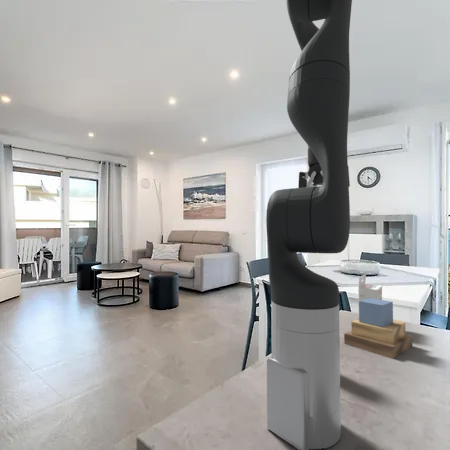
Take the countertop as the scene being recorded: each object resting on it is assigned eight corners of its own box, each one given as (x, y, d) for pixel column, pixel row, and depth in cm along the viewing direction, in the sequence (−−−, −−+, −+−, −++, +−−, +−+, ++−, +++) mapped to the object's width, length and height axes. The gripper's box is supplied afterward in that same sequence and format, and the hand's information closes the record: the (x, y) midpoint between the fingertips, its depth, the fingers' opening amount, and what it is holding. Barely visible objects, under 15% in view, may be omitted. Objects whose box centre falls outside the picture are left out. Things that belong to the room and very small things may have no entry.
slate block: (383, 327, 67) (382, 305, 67) (359, 321, 71) (358, 301, 71) (393, 322, 70) (392, 301, 70) (369, 317, 74) (369, 297, 75)
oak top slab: (392, 344, 65) (392, 330, 65) (351, 334, 71) (351, 321, 71) (405, 334, 71) (405, 322, 71) (366, 326, 77) (366, 314, 77)
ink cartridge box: (378, 334, 78) (377, 278, 79) (358, 330, 81) (357, 276, 82) (383, 325, 85) (382, 274, 86) (364, 322, 88) (363, 273, 88)
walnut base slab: (392, 361, 63) (392, 347, 63) (344, 346, 71) (344, 333, 72) (412, 348, 70) (412, 336, 70) (366, 336, 78) (366, 324, 78)
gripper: (292, 150, 84) (292, 207, 83) (338, 138, 73) (339, 203, 72) (308, 155, 88) (308, 208, 88) (354, 143, 77) (355, 205, 77)
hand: (322, 206), depth 80 cm, fingers open, 8 cm apart
